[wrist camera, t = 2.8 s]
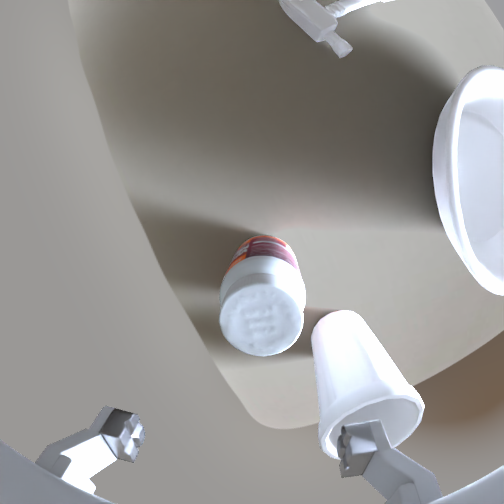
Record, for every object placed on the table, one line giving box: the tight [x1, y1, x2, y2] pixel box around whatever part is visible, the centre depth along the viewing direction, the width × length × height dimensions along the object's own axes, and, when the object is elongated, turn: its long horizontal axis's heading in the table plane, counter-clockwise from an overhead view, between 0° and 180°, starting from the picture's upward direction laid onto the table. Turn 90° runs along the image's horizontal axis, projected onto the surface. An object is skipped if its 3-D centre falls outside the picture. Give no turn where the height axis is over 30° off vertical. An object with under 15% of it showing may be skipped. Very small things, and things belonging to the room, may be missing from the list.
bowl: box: [432, 65, 504, 295], centre depth 19 cm, size 22×22×8 cm
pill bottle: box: [219, 235, 306, 356], centre depth 22 cm, size 6×6×11 cm
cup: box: [311, 310, 424, 460], centre depth 22 cm, size 8×8×14 cm
